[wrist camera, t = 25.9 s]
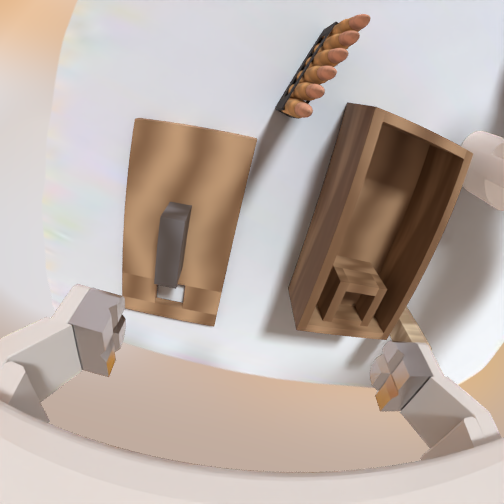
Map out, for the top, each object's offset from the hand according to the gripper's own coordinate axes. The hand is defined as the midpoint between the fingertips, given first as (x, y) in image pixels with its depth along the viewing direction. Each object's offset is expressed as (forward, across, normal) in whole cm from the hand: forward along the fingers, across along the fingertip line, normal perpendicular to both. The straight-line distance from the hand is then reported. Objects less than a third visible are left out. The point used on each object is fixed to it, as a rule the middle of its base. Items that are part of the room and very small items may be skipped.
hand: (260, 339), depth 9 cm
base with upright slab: (+28, -29, -8) cm, 41 cm away
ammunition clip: (+27, -3, -10) cm, 29 cm away
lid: (+27, +7, +11) cm, 29 cm away
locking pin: (+27, -25, +17) cm, 41 cm away
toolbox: (+27, -14, +4) cm, 31 cm away
